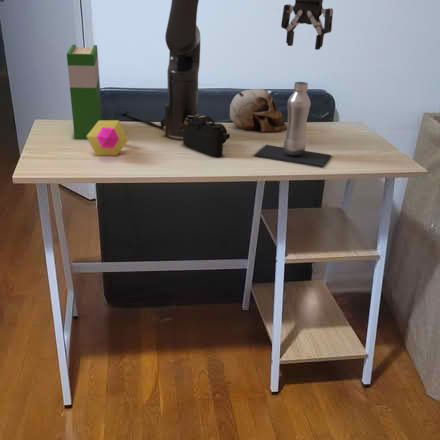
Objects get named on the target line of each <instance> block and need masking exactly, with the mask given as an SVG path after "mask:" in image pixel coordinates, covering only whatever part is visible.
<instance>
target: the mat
mask: <svg viewBox="0 0 440 440" xmlns="http://www.w3.org/2000/svg"><path fill="white" fill-rule="evenodd" d="M331 156H332V155H331V154H329V153H328V154H327V153H321V152H315V151H309V150H305V151H304V153H303V154H302V155H288V154H286V153H285V152H284V150H283V146H277V145H270V144H265V146H262V148H260V149H259V151H258V152H256V153H255V154H254V157H257V158H263V159H269V160H275V161H280V162H287V163H294V164H299V165H306V166H311V167H317V168H323V167H324V166H325V165H326V163H327V162H328V161H329V159H330V158H331Z"/></svg>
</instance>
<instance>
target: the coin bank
mask: <svg viewBox="0 0 440 440" xmlns="http://www.w3.org/2000/svg"><path fill="white" fill-rule="evenodd" d="M229 118H230V121H232V123H233V124H234V125H235V127H236V128H238V129H242V130H246V131H248V130H250V131H251V130H256V129H257V130H260V132H261V133H266V132H267V133H269V132H270V133H271V132H278V131H280V132H282V131H284V130H287V123H286V122H285V121H284V115H283V113H282V112H281V111H279V109H278V108H277V105H276V102H275V101H274V98H273V97H272V96H271V94H270V93H269V92H268V91H267V90H265V89H263V88H252V89H245V90H242V91H240V92H238V93H237V94H236V95H235V96H234V97H233V98H232V101H231V103H230V105H229Z"/></svg>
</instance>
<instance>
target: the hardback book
mask: <svg viewBox="0 0 440 440" xmlns="http://www.w3.org/2000/svg"><path fill="white" fill-rule="evenodd" d="M98 53H99V51H98V45H97V44H93V46H92V47H84V46H83V47H78V46H76V44H71V46H70V47H69V49H68V51H67V52H66V62H67V63H66V64H67V71H68V72H67V73H68V82H69V93H70V104H71V113H72V124H73V135H74V140H88V138H87V135H88V133H89V132H90V131H91V130H92V128H93V127H94V126H95V125H96V123H97V122H98V121H99V120H103V112H102V110H103V109H102V97H101V81H100V69H99V68H100V67H99V54H98Z"/></svg>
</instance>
